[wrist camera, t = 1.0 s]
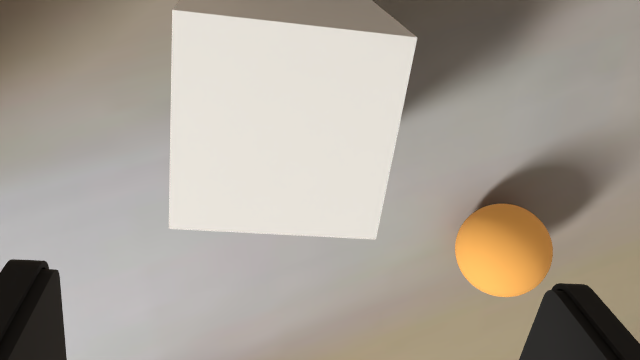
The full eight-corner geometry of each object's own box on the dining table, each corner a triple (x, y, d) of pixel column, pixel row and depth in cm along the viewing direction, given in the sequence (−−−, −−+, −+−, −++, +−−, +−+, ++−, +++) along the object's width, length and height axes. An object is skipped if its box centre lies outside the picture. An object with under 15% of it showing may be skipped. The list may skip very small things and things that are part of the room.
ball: (454, 184, 31) (489, 232, 26) (537, 190, 32) (584, 237, 27) (434, 259, 33) (463, 315, 29) (513, 263, 34) (553, 318, 29)
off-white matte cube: (196, -26, 25) (172, 10, 17) (366, -5, 26) (417, 37, 18) (191, 136, 28) (168, 228, 20) (341, 148, 29) (375, 239, 21)
